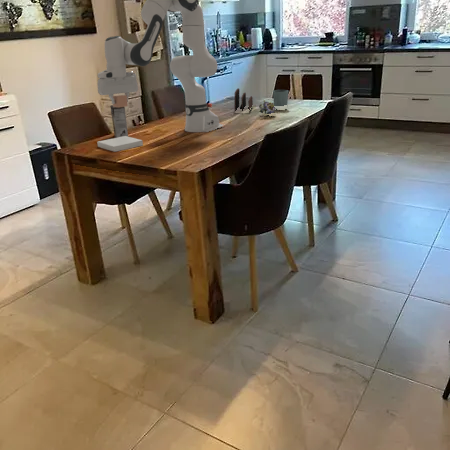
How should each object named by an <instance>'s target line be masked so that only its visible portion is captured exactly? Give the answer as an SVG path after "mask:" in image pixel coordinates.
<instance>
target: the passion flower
mask: <svg viewBox="0 0 450 450" xmlns="http://www.w3.org/2000/svg"><path fill="white" fill-rule="evenodd" d="M258 108H259V111H258V113H259V112H260V114H261V113H262V114H266V115H267V114H271V113H274V112H276V110H275V109H276V108H275V107H274V102H271V101H266V100H265V99H263V104H261V103H260V104H259V106H258Z"/></svg>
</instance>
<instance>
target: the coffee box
mask: <svg viewBox="0 0 450 450" xmlns="http://www.w3.org/2000/svg"><path fill="white" fill-rule="evenodd" d="M109 106H110V113H111V120H112V126H113V128H112V129H113V134H114V138H117V137H122V136H128V137H129V132H128V131H129V130H128V123H127V115H126V107H113V104H112V105H109Z"/></svg>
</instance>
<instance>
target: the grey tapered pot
mask: <svg viewBox="0 0 450 450" xmlns="http://www.w3.org/2000/svg"><path fill="white" fill-rule="evenodd" d="M289 93H290V92H289V90H288V89H276V90H272V95H273V104H274V106H284V105H287V106H288V102H289V98H288V97H289Z"/></svg>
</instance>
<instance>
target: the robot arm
mask: <svg viewBox="0 0 450 450" xmlns="http://www.w3.org/2000/svg"><path fill="white" fill-rule="evenodd" d="M168 12H169V13H177V12H180V14H181V16H182V18H181V19H182V43H183V44H184V46H186V48H189V49H191V50H192V55H190V54H189V55H179V56H174V57H173V58H172V59H171V61H170V65H169V69H170V71H171V73H172V75H173V76H174V77H176V78H177V79H178V81H179V82H180V84H181V86H182V87H183V93H184V99H185V104H184V110H185V127H184V131H185V132H189V133H209V131H210V132H212V130H213V131H215V129H216V130H218V129H217V128H219V129H221V128H220V127H222V126H224V124H221V123H220V119H219V116H218V115H217V114H215V113H214V112H213V111H211V110H210V108H212V107H213V104H212V103H207V100H206V99H207V96H206V89H205V87H204V86H203V85H202V84H200V83H198V82H197V81H196V78H208V77H212V76H214V75H216V73H217V71H218V70H217V69H218V61H217V59H216V58H215V57H214V56H213V55H212V54H211V53H210V52H209V50H208V48H207V46H206V43H205V24H204V23H205V20H204V13H203V8H202V7H201V6H200V4H199V0H145V2H144V4H143V5H142V8H141V12H140V17H141V19H142V20H143V22H144V23H145V24H146V25H147V26H146V29H145V32H144V34H143V36H142V38H141V40H140V41H139V42H136V43H135V42H134V43H133V42H132V43H131V42H129V41H127V40H125V39H124V38H122V36H120V35H115V36H108V38H106V39H105V40H104V55H105V56H104V57H105V59H106V69H105V70H102V71H100V72H98V73H97V78H98V80H97V83H96V84H97V93H98V94H99V95H101V96H108V97H109V99H110V101H111V104H112V105H113V104H116V100H114V98H113V96H115V95H117V94H118V95H120V94H124V95H126V96H127V103H128V102H129V100H128V99H129V97H130V93H136V92H138V90H139V85H138V81H137V74H136V73H135V72H133V71H127V65H130V66H131V65H132V66H140V67H146V66H147V65H149V64H150V63H151V62H152V58H153V55H154V49H155V46H156V43H157V41H158V38H159V36H160V34H161V31H162V28H163V25H164V24H163V23H164V22H163V21H164V19H165V17H166V16H167V13H168ZM222 128H223V127H222Z"/></svg>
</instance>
